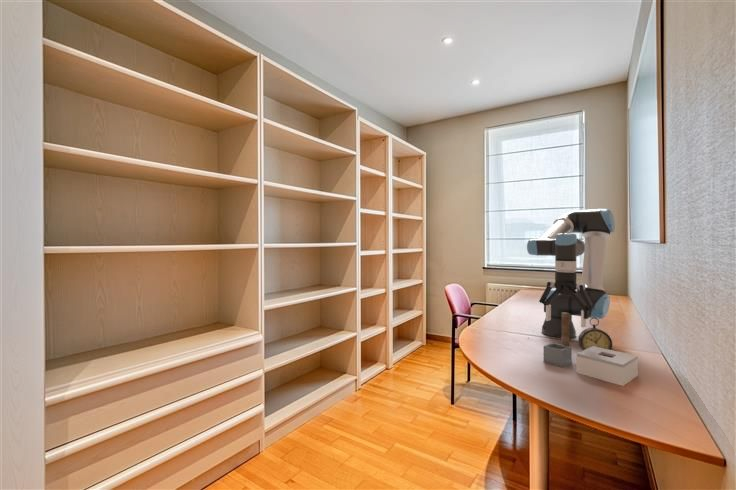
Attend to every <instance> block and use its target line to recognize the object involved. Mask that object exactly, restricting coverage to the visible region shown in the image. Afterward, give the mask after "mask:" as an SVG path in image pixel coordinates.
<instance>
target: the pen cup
mask: <svg viewBox="0 0 736 490" xmlns="http://www.w3.org/2000/svg"><path fill="white" fill-rule="evenodd" d="M572 351H573V349H572V346H570V347H569V346H565V345H562V343H561V344H560V343H556V342H550V343H547V344H545V345H543V363H546V364H550V365H552V366H553V365H554V366H556V367H561V368H564V367H566V366H567V367H568V365H569V366H570V365H571V364H572V361H573V360H572V357H573V356H572Z"/></svg>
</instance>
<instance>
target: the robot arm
mask: <svg viewBox="0 0 736 490" xmlns="http://www.w3.org/2000/svg"><path fill="white" fill-rule="evenodd" d="M615 231H616V223H615V219H614V214H613V212H612V210H611V209H609V208H597V209H596V208H593V209H578V210H577V209H575V210H573V211H569V212H566V213H564V214H562V215H560V216H558V217H557V218H556V219H555V220H554V221H553V223H552V225H551V227H549V228H548V229H547V230H546V231H545V232H544V233H543V234H542V235H541V236H540V237H538V238H530V239H528V240H527V242H526V249H527V253H528V254H529V255H531V256H537V257H538V256H546V257H549V256H553V257H554V260H555V261H554V263H555V264H554V265H555V266H554V269H555V272H554V282H553V281H547V282H546V287H545V289H544V291H543V293H542V294H541V296H540V299H539V301H538V302H539V303H540V304H543V313H545V318H544V321H543V324H542V326H541V333H542V334H544V335H546V336H549V337H554V338H561V339H562V312H566V313H570V338H571V339H572V338H574V337H576V336H577V330H576V328H575V326H574V322H573V316H575V317H580V319H581V320H580V328H586V327H587V320H589V318H590V319H592V318H597V319H598V320H602V319H604V318H605V317H606V316H607V314H608V312H609V309H610V303H611V300H610V299H611V298H610V295H609V294H606V293H607V291H606V290H605V288H604V285H603V283H604V282H603V281H604V272H605V271H604V270H605V255H606V242H607V239H608V238H610V237H611V234H612V233H614V232H615ZM576 233H579V234H580V233H581V236H583V238H584V241H583V240H581V239H579V238H577V234H576ZM581 255H583V259H582V260H583V261H582V273H581V283H580V284H577V272H576V271H577V270H578V269H577V257H579V256H581Z"/></svg>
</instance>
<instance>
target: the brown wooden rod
mask: <svg viewBox="0 0 736 490" xmlns="http://www.w3.org/2000/svg"><path fill="white" fill-rule="evenodd" d="M570 343H571V342H570V313H566V312H562V338H561V345H565V346H569V347H571V346H570Z"/></svg>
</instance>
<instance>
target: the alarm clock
mask: <svg viewBox="0 0 736 490" xmlns="http://www.w3.org/2000/svg"><path fill="white" fill-rule="evenodd" d="M593 319H595V320H597V324H592V323H591V321H592V320H593ZM589 324H590V325H591V326H592V327H588V328H585V329H584V330H582V331H581V332H580V334H578V335H579V336H578V339H577V341H578V345H579V347H580V348H581V349H582V351H583V350H585V349H588V348H590V347H592V346H595V347H600V348H604V349H609V350H612V348H613V341H612V338H611V337H610V335H609V334H608V333H607V332H605V331H604V330H602V329H600V328H596V326H598V325H599V324H600V319H598V318H590V319H589Z"/></svg>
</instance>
